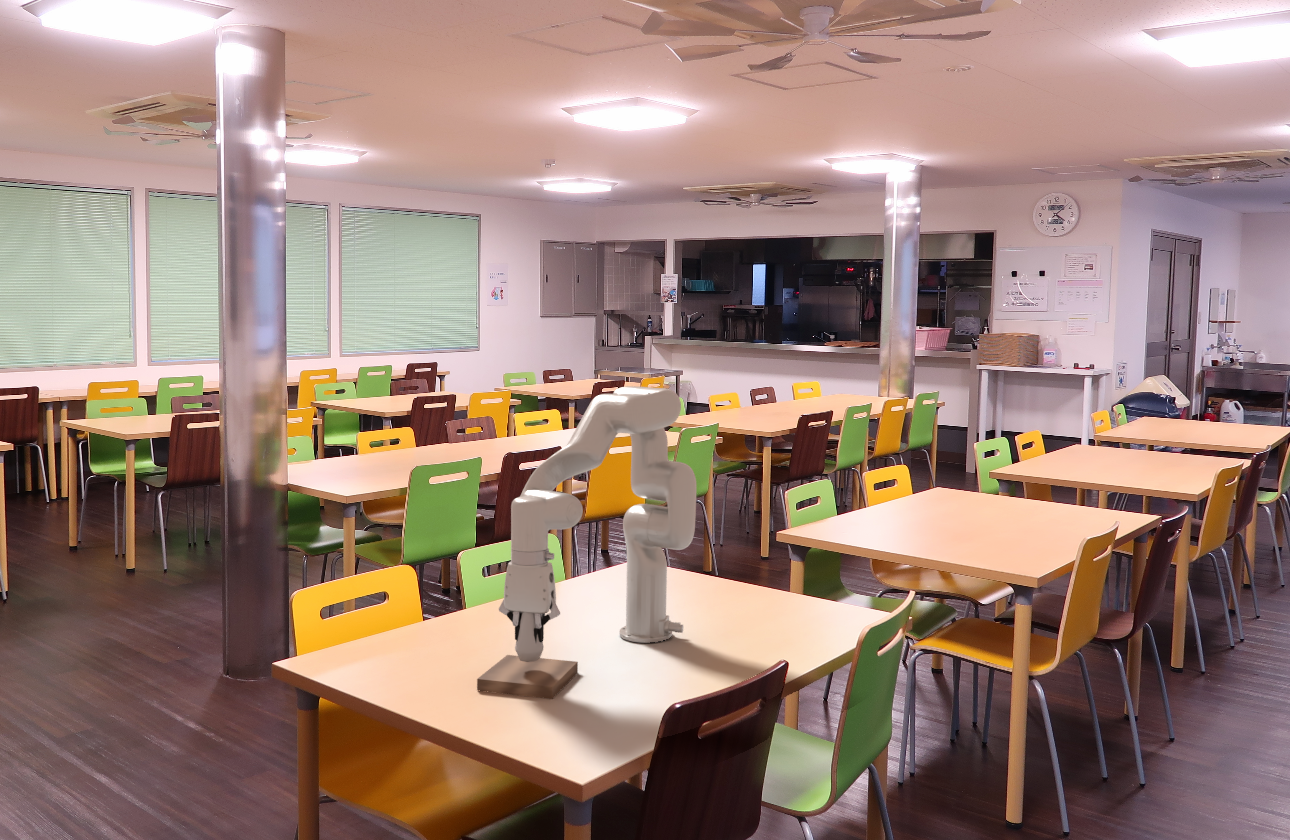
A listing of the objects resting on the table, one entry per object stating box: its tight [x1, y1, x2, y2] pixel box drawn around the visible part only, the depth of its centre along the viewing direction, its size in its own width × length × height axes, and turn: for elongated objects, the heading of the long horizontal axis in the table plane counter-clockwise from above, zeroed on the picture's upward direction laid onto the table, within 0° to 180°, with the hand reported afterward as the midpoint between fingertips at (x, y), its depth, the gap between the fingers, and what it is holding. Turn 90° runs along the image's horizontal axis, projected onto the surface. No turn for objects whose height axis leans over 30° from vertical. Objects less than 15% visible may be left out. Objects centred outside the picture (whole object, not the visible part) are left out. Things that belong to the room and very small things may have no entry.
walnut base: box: [476, 654, 579, 700], centre depth 215 cm, size 16×16×3 cm
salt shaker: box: [514, 612, 544, 662], centre depth 214 cm, size 6×6×13 cm
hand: (529, 643), depth 214 cm, fingers closed on salt shaker, 3 cm apart
